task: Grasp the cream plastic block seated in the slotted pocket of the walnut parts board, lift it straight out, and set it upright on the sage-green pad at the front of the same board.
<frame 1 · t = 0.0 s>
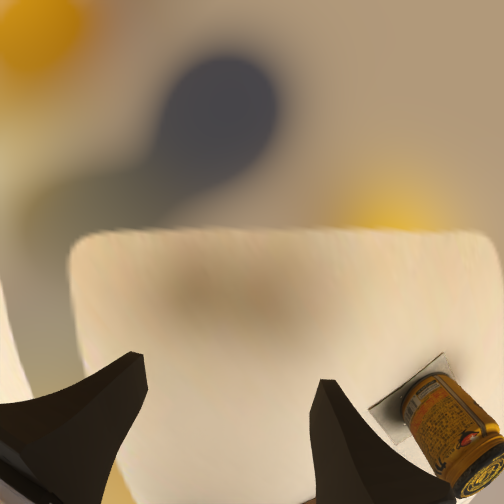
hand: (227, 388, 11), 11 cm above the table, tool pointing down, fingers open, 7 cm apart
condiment: (418, 401, 22), on the table
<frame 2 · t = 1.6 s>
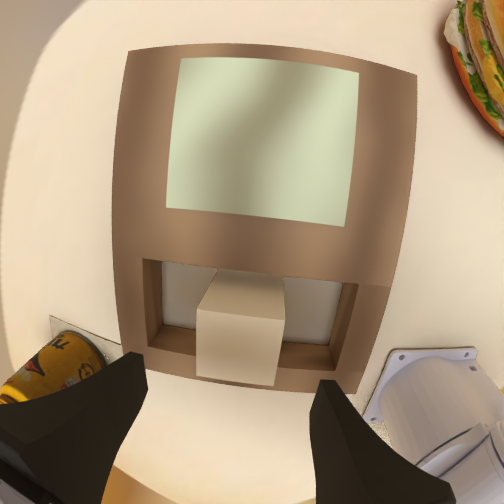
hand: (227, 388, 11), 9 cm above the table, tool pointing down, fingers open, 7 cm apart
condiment: (89, 360, 23), on the table
cream block: (248, 298, 19), resting in parts board
parts board: (256, 223, 18), on the table
burger: (496, 73, 13), on the table
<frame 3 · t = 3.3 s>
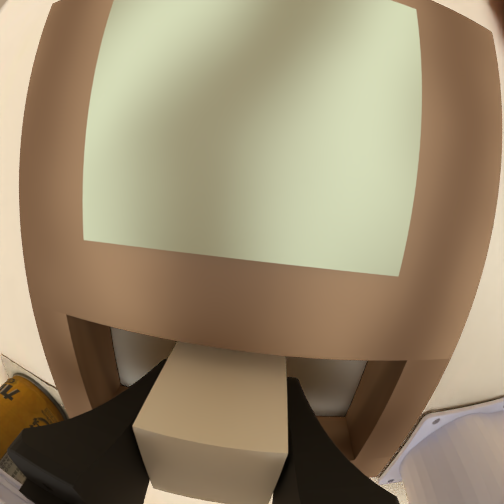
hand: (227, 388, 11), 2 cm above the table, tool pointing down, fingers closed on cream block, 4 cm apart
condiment: (49, 407, 16), on the table
cream block: (233, 364, 12), resting in parts board, touching gripper
parts board: (242, 257, 11), on the table
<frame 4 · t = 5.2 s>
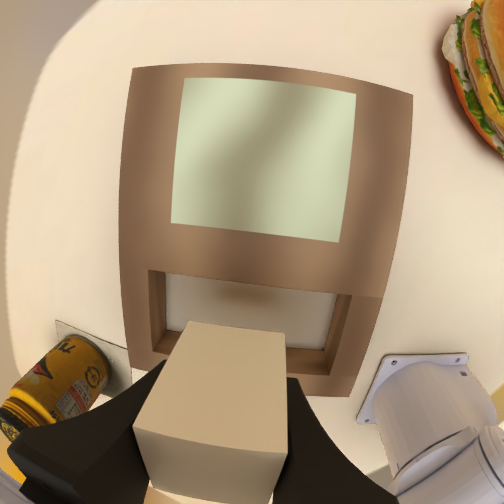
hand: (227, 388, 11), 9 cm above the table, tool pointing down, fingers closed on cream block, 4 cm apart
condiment: (94, 363, 23), on the table
cream block: (233, 364, 12), point 8 cm above the table, touching gripper
parts board: (255, 236, 19), on the table
burger: (493, 87, 14), on the table
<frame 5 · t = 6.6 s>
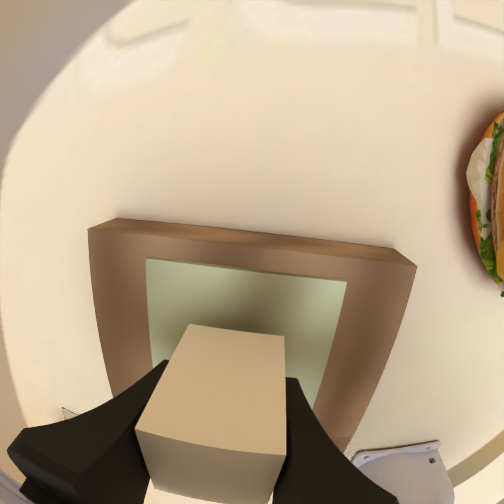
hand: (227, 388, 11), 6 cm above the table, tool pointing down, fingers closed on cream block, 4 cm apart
cream block: (233, 367, 12), point 5 cm above the table, touching gripper
parts board: (237, 379, 18), on the table
when the fingers open (6 cm above the table, at t = 7.4 s): cream block drops 1 cm, resting on parts board.
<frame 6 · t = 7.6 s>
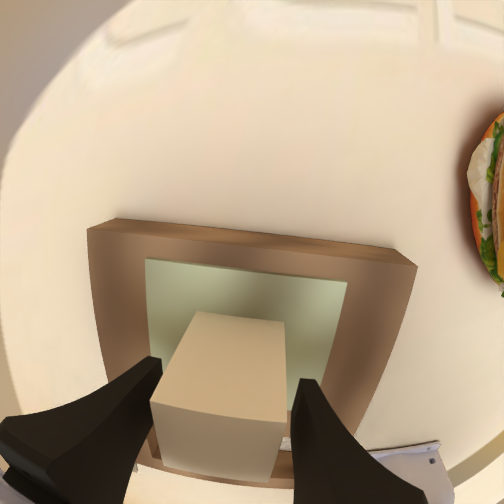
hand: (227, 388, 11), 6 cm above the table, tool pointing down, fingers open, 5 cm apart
cream block: (236, 352, 14), point 3 cm above the table, touching parts board
parts board: (237, 380, 18), on the table
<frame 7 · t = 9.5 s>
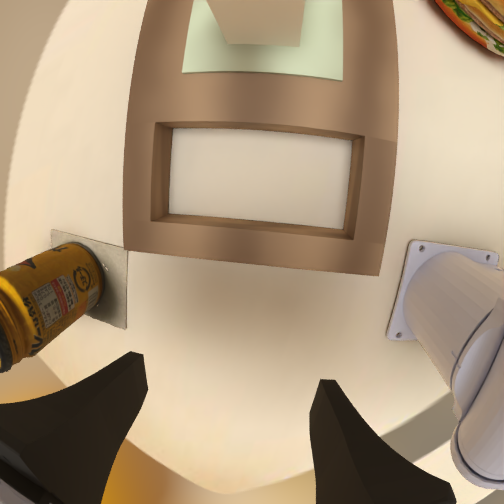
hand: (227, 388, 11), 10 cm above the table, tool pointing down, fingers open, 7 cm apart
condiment: (87, 277, 22), on the table
cream block: (265, 17, 13), point 3 cm above the table, touching parts board
parts board: (263, 101, 17), on the table
burger: (469, 2, 12), on the table
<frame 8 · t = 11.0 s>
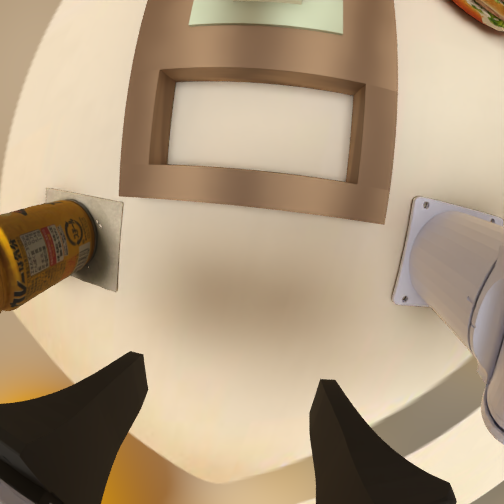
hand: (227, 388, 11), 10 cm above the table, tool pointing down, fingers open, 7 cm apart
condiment: (80, 236, 21), on the table
parts board: (265, 57, 16), on the table
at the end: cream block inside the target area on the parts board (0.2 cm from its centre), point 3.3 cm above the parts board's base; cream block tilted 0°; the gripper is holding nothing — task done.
